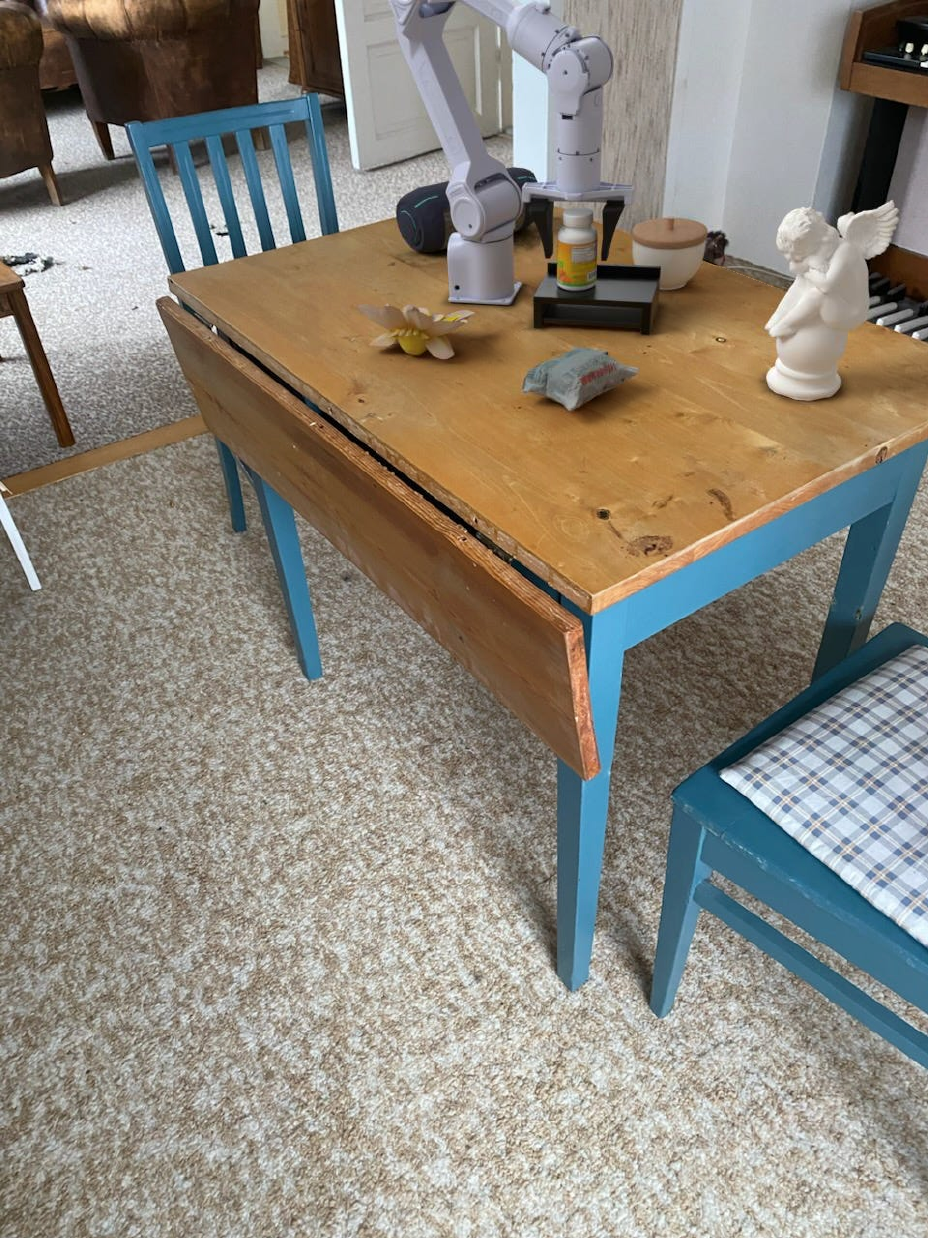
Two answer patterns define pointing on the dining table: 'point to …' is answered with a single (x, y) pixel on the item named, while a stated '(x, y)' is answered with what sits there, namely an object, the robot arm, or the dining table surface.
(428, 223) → the portable speaker
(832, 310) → the cherub figurine
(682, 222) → the trinket box
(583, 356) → the packaged food
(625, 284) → the black lipped tray
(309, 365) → the dining table surface
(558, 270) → the supplement bottle
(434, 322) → the decorative flower
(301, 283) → the dining table surface
